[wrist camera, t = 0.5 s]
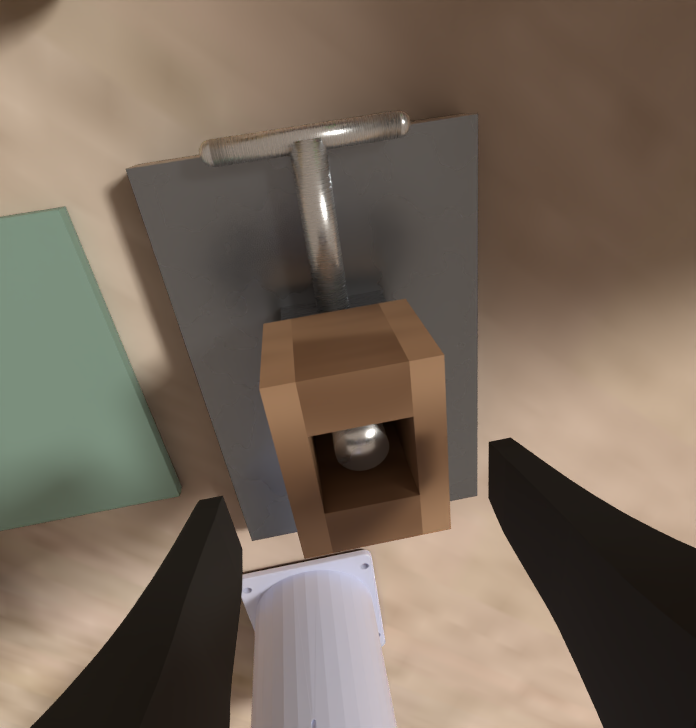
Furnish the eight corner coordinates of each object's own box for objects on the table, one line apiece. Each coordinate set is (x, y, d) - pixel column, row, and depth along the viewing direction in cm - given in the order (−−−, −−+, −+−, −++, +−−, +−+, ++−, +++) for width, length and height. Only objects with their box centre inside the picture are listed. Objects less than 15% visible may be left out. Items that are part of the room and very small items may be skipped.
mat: (181, 487, 24) (179, 496, 23) (-19, 526, 23) (-26, 535, 23) (65, 206, 17) (58, 209, 17) (-221, 252, 17) (-237, 256, 16)
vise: (466, 475, 26) (524, 585, 20) (253, 517, 26) (246, 644, 19) (461, 98, 17) (563, 90, 11) (133, 149, 17) (49, 170, 10)
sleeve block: (417, 448, 20) (450, 528, 16) (299, 471, 20) (304, 558, 16) (405, 298, 17) (444, 354, 13) (263, 323, 17) (259, 388, 13)
